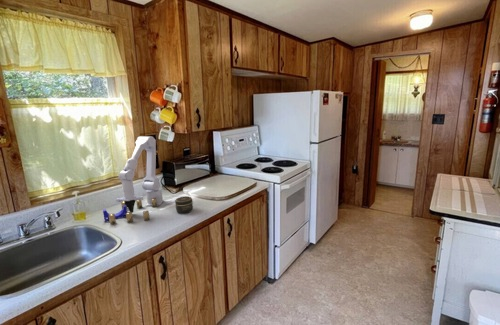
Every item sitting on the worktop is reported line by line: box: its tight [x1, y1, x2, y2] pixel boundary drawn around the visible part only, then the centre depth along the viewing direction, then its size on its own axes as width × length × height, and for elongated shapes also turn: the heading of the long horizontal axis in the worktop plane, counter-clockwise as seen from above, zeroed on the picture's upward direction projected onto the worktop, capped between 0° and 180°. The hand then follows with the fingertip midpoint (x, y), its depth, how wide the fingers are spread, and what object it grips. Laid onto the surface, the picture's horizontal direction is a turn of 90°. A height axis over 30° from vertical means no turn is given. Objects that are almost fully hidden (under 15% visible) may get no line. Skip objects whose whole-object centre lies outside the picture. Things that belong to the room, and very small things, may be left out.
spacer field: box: [109, 198, 158, 225], centre depth 154 cm, size 21×23×5 cm
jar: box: [174, 195, 194, 215], centre depth 155 cm, size 10×10×8 cm
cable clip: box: [102, 205, 128, 222], centre depth 150 cm, size 12×4×6 cm, turn 121°
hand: (131, 212), depth 154 cm, fingers closed
